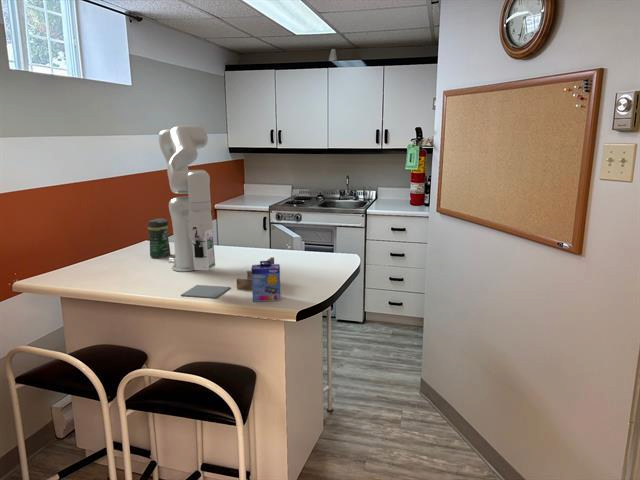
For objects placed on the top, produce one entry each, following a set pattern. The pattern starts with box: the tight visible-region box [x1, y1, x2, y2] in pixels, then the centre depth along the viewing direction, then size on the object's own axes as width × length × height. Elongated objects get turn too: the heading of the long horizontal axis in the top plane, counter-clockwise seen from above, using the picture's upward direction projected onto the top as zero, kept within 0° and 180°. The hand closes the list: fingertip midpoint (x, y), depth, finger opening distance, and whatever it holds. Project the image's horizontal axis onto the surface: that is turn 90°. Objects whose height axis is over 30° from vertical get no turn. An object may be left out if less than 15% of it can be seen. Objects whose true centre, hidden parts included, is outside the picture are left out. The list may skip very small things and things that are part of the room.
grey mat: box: [180, 284, 231, 300], centre depth 175 cm, size 14×12×1 cm
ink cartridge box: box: [250, 260, 282, 303], centre depth 164 cm, size 10×6×14 cm, turn 95°
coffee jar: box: [147, 217, 171, 259], centre depth 228 cm, size 10×8×19 cm
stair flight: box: [236, 256, 275, 291], centre depth 180 cm, size 11×11×10 cm
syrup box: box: [192, 229, 216, 271], centre depth 171 cm, size 6×6×14 cm
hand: (203, 254), depth 172 cm, fingers closed on syrup box, 5 cm apart
